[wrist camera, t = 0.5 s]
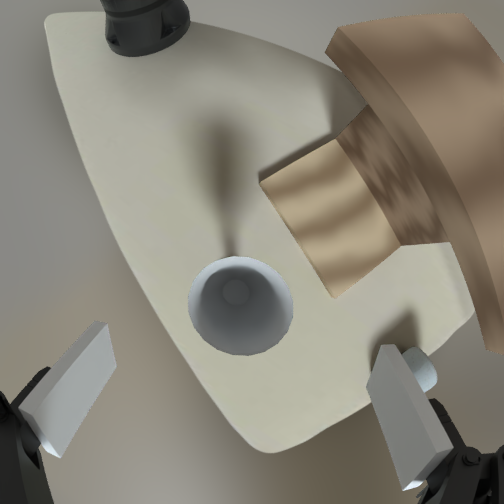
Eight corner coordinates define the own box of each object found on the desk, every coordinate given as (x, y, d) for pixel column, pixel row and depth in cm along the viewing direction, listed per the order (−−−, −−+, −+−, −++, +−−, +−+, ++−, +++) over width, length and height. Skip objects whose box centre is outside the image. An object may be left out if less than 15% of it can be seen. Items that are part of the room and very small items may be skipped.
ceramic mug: (364, 370, 39) (389, 390, 31) (404, 340, 40) (434, 353, 32) (382, 413, 39) (405, 435, 32) (419, 385, 40) (445, 402, 32)
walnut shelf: (259, 184, 38) (337, 27, 9) (337, 139, 39) (463, 13, 10) (331, 297, 38) (509, 357, 10) (400, 241, 40) (572, 224, 11)
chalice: (270, 274, 38) (311, 289, 20) (245, 320, 37) (263, 371, 19) (221, 247, 37) (217, 236, 19) (195, 293, 37) (170, 324, 19)
